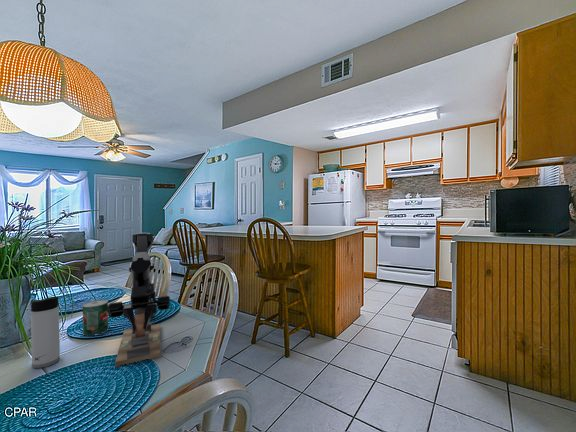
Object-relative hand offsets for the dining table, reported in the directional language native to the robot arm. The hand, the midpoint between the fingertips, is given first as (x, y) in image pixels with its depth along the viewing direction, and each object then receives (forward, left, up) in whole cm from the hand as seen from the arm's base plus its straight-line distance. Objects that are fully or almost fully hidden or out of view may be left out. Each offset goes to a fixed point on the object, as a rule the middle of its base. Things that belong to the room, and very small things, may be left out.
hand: (139, 329), depth 87 cm
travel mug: (+6, -25, -7) cm, 26 cm away
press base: (-4, -2, -7) cm, 8 cm away
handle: (-1, -1, -4) cm, 4 cm away
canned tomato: (-15, -24, -7) cm, 29 cm away
